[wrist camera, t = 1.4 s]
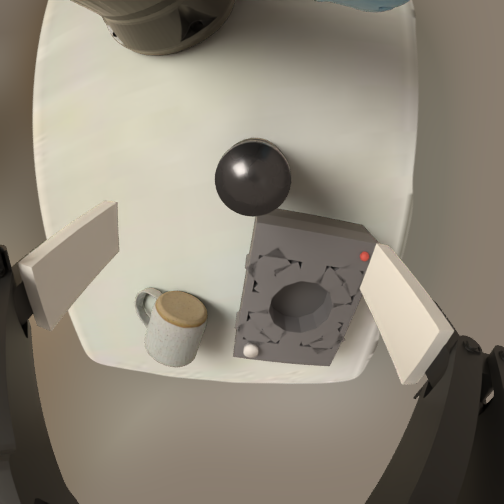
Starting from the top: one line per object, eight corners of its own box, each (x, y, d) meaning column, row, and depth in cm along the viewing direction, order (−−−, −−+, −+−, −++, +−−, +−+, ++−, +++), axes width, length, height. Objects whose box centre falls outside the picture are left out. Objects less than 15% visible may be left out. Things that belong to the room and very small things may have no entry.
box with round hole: (254, 204, 32) (252, 224, 25) (365, 225, 32) (386, 248, 26) (234, 326, 39) (229, 360, 33) (324, 337, 40) (333, 370, 34)
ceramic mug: (214, 298, 37) (204, 335, 30) (200, 338, 41) (189, 376, 34) (142, 271, 36) (119, 303, 29) (136, 314, 39) (116, 347, 32)
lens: (234, 133, 28) (218, 135, 17) (285, 141, 28) (300, 148, 18) (227, 181, 31) (208, 212, 20) (276, 188, 31) (284, 224, 20)
